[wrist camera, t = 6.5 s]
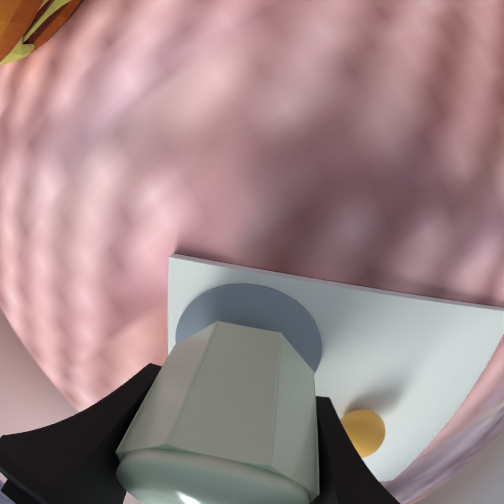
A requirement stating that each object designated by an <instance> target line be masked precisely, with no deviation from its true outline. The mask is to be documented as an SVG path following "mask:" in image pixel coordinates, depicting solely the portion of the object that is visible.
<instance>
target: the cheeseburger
mask: <svg viewBox="0 0 504 504" xmlns="http://www.w3.org/2000/svg"><path fill="white" fill-rule="evenodd" d="M80 2H81V0H0V65H3V64H6V63H9V62H13V61H18V60H21V59H22V58H24V57H26V56H27V55H29V54H30V53H31V52H33V51H34V50H35V49H37V48H38V47H39V46H41V45H42V44H43V43H45V42H46V41H48V39H49V38H50V37H51V36H52V35H53V34H54V33H55V32H56V31H57V30H58V28H59V27H60V26H61V25H62V24H63V23H64V22H65V21H66V20H67V19H68V18H69V17H70V15H71V14H72V12H73V11H74V10H75V8H76V7H77V6H78V4H79V3H80Z"/></svg>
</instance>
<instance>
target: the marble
mask: <svg viewBox="0 0 504 504" xmlns="http://www.w3.org/2000/svg"><path fill="white" fill-rule="evenodd" d="M340 421H341V423H342V425H343V427H344V429H345V431H346V433H347V434H348V436H349V438H350V440H351V442H352V443H353V445H354V447H355V448H356V450H357V452H358V453H359V455H360V456H361V458H365V457H367V456H370V455H371V454H373V453H374V452H376V451H377V450H378V449H379V448H380V446H381V445H382V443H383V441H384V439H385V435H386V428H385V424H384V421H383V420H382V418H381V417H380V416H379V415H378V414H377V413H375V412H373V411H370V410H365V409H360V410H355V411H352V412H350V413H348V414H346V415H345V416H343V417H342V418H341V419H340Z"/></svg>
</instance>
